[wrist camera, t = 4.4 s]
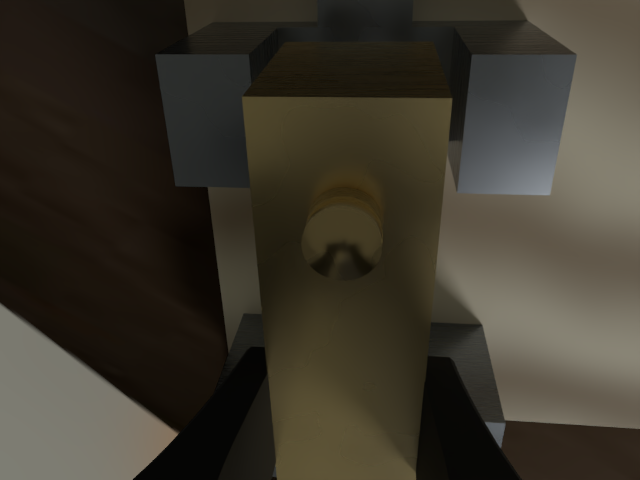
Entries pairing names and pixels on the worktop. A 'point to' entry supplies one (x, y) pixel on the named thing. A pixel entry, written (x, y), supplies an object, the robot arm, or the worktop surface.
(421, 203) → the master link
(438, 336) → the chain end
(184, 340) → the worktop surface
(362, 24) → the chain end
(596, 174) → the jig board
